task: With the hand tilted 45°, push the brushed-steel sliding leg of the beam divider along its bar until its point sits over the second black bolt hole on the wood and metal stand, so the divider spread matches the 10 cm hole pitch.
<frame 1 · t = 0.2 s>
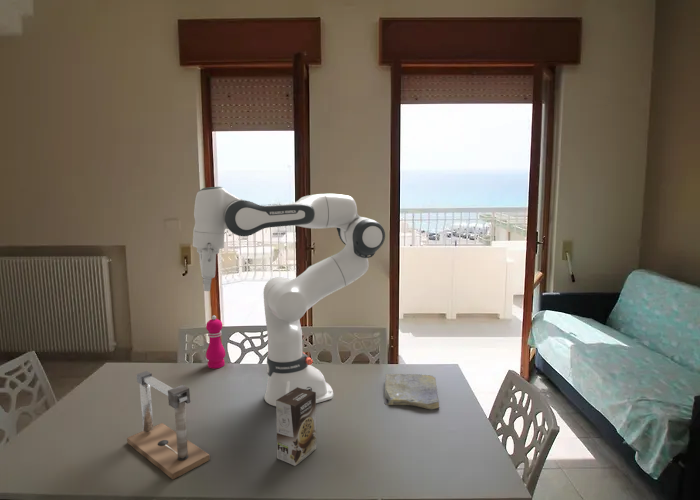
hand: (206, 287, 135), 39 cm above the table, tool pointing down, fingers open, 8 cm apart
sliding leg: (163, 413, 118), point 10 cm above the table, slide at 0.0 cm
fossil: (410, 396, 150), on the table
wood and metal stand: (167, 451, 119), on the table
coffee box: (297, 454, 118), on the table
pepper mill: (216, 365, 175), on the table
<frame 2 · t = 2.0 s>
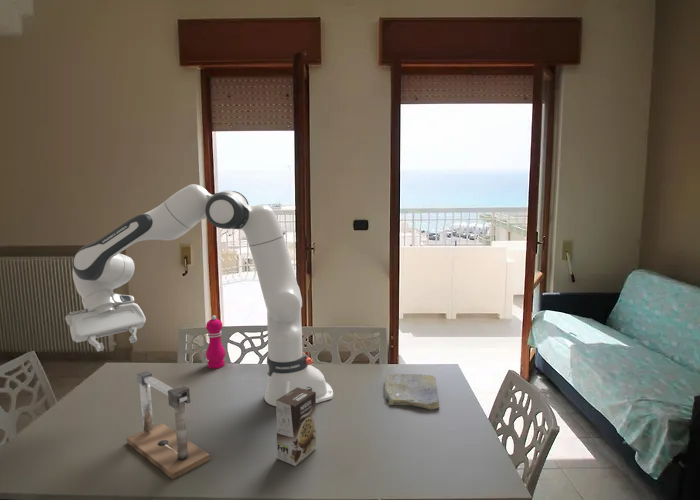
hand: (118, 345, 132), 23 cm above the table, tool tilted 45°, fingers open, 8 cm apart
nothing on the table moved.
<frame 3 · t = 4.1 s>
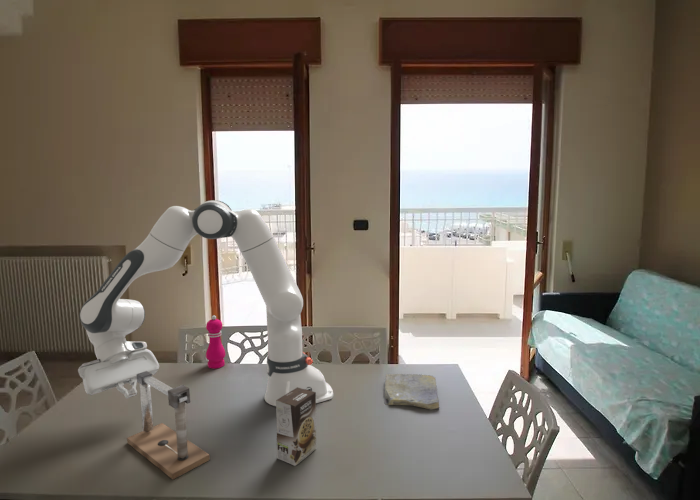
hand: (131, 396, 130), 10 cm above the table, tool tilted 45°, fingers closed
nothing on the table moved.
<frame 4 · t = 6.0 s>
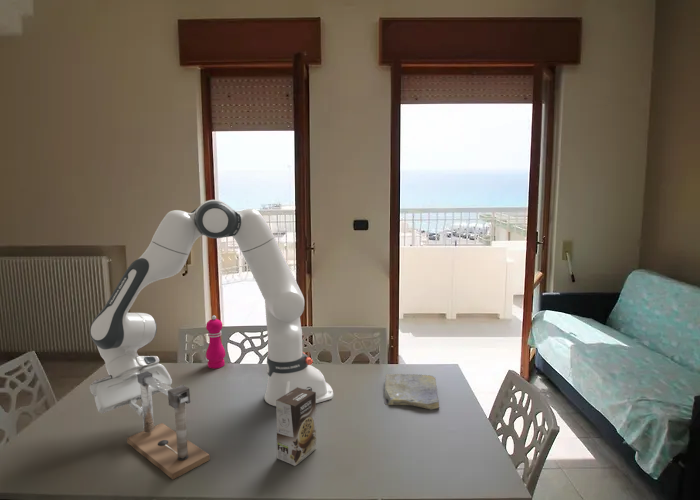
hand: (144, 413, 126), 7 cm above the table, tool tilted 45°, fingers closed, pressing on sliding leg
sliding leg: (164, 414, 118), point 10 cm above the table, slide at 0.4 cm, touching gripper
everything else where it was.
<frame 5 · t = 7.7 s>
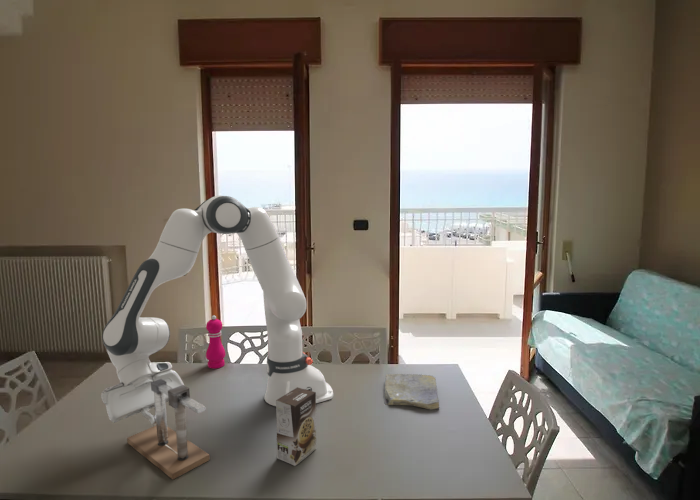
hand: (158, 422, 121), 7 cm above the table, tool tilted 45°, fingers closed, pressing on sliding leg
sliding leg: (179, 424, 113), point 10 cm above the table, slide at 7.9 cm, touching gripper
everything else where it was.
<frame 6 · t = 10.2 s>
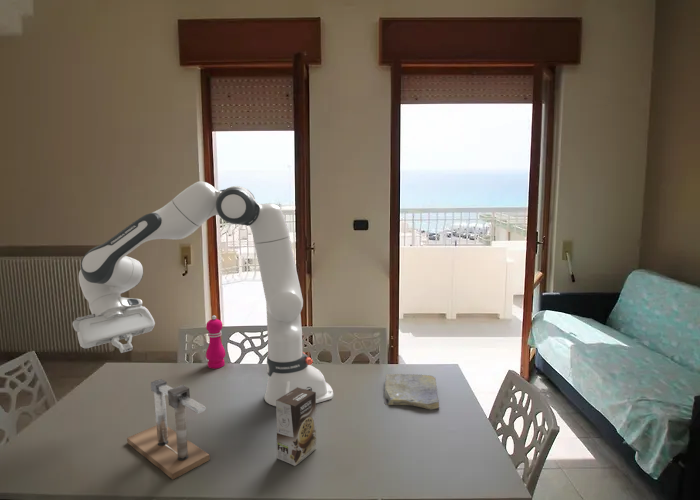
hand: (127, 350, 128), 23 cm above the table, tool tilted 45°, fingers closed
sliding leg: (179, 424, 113), point 10 cm above the table, slide at 8.0 cm
everything else where it was.
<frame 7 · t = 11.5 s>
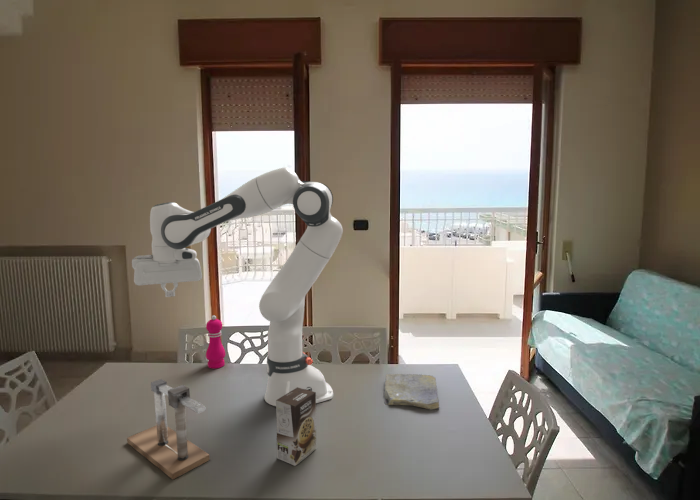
hand: (170, 296, 145), 34 cm above the table, tool pointing down, fingers closed
nothing on the table moved.
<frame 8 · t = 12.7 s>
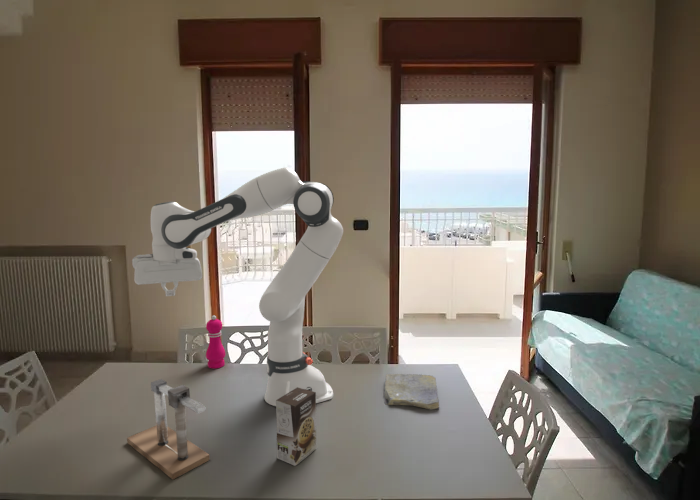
hand: (170, 295, 146), 34 cm above the table, tool pointing down, fingers closed
nothing on the table moved.
at the end: sliding leg slide at 8.0 cm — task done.
